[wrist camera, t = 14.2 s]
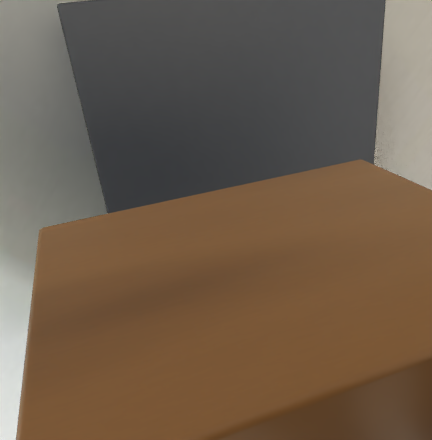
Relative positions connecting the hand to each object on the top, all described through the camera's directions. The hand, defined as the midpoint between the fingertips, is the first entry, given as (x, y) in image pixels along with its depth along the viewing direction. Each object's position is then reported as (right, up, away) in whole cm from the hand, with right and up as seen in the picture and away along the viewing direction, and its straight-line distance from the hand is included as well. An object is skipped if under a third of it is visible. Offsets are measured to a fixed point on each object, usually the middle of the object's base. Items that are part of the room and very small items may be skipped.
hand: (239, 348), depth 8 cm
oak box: (0, 0, 0) cm, 0 cm away
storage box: (0, +7, +12) cm, 14 cm away
